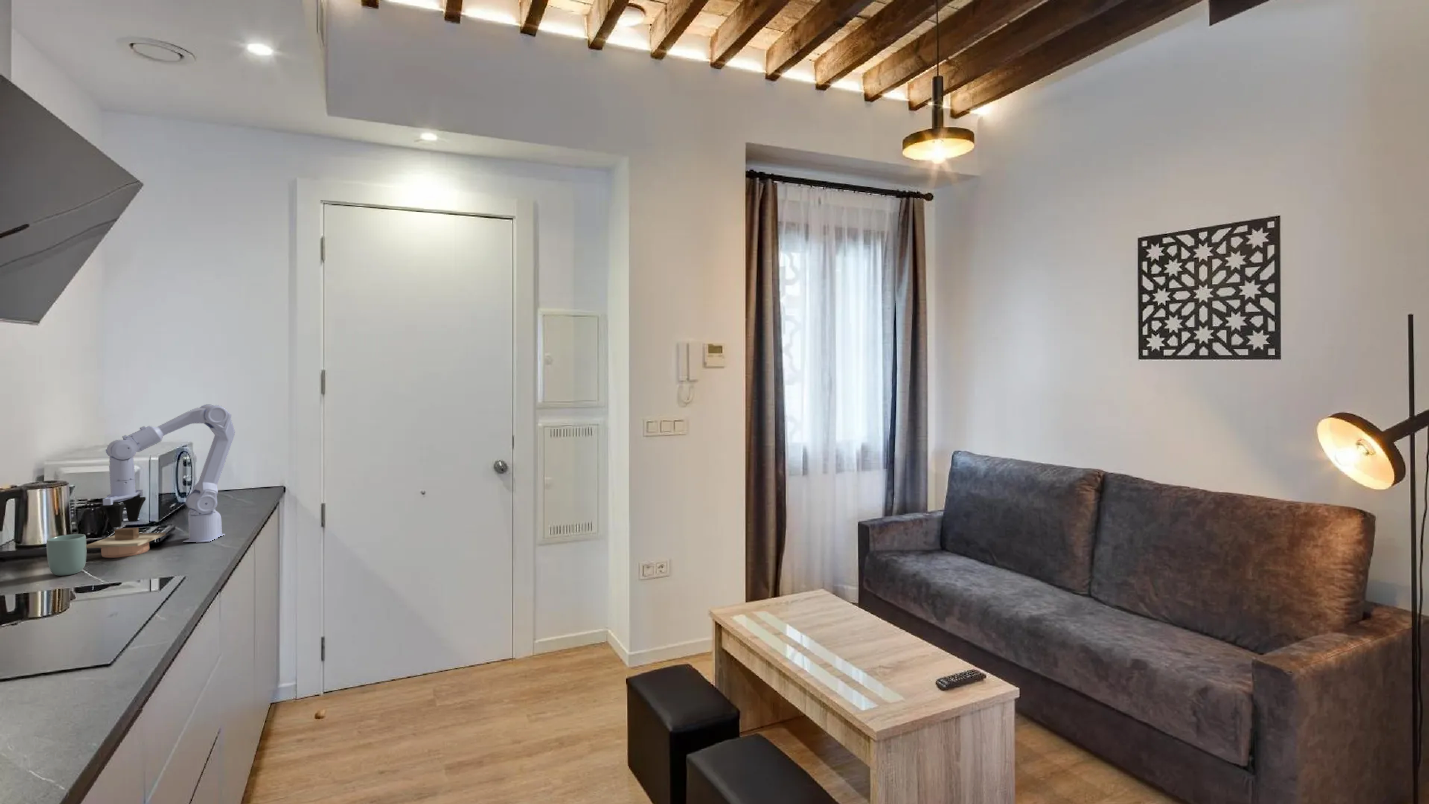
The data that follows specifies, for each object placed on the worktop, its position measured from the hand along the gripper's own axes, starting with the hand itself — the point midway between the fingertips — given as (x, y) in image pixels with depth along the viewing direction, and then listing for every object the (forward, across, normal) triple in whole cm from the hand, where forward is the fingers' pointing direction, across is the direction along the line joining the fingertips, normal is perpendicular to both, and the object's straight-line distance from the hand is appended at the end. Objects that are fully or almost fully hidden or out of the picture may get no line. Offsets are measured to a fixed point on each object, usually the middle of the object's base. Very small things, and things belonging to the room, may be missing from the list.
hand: (124, 524), depth 208 cm
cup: (+9, +21, -2) cm, 23 cm away
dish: (+9, 0, 0) cm, 9 cm away
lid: (+5, 0, 0) cm, 5 cm away
